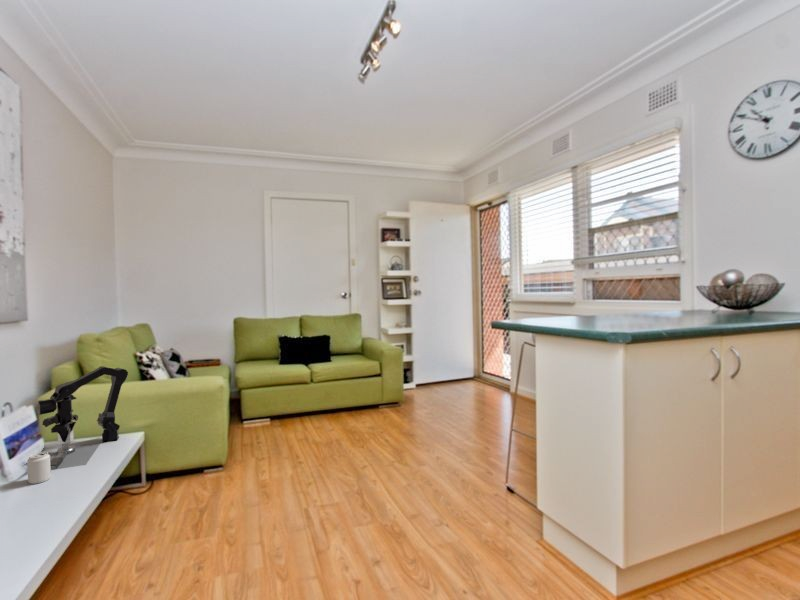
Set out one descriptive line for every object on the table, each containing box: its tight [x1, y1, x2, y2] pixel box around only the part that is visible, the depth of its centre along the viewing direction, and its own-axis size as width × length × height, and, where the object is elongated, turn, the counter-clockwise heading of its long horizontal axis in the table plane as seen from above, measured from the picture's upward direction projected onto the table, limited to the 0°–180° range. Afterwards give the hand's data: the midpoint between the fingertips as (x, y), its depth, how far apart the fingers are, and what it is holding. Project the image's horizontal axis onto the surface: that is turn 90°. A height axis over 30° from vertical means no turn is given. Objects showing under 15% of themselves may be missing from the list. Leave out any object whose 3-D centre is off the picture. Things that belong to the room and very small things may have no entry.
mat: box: [50, 442, 102, 470], centre depth 203 cm, size 18×28×1 cm, turn 24°
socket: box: [57, 429, 75, 445], centre depth 208 cm, size 5×5×5 cm
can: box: [26, 451, 52, 485], centre depth 179 cm, size 8×8×12 cm
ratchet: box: [50, 443, 76, 471], centre depth 200 cm, size 7×24×4 cm, turn 24°
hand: (66, 439), depth 208 cm, fingers closed on socket, 5 cm apart
